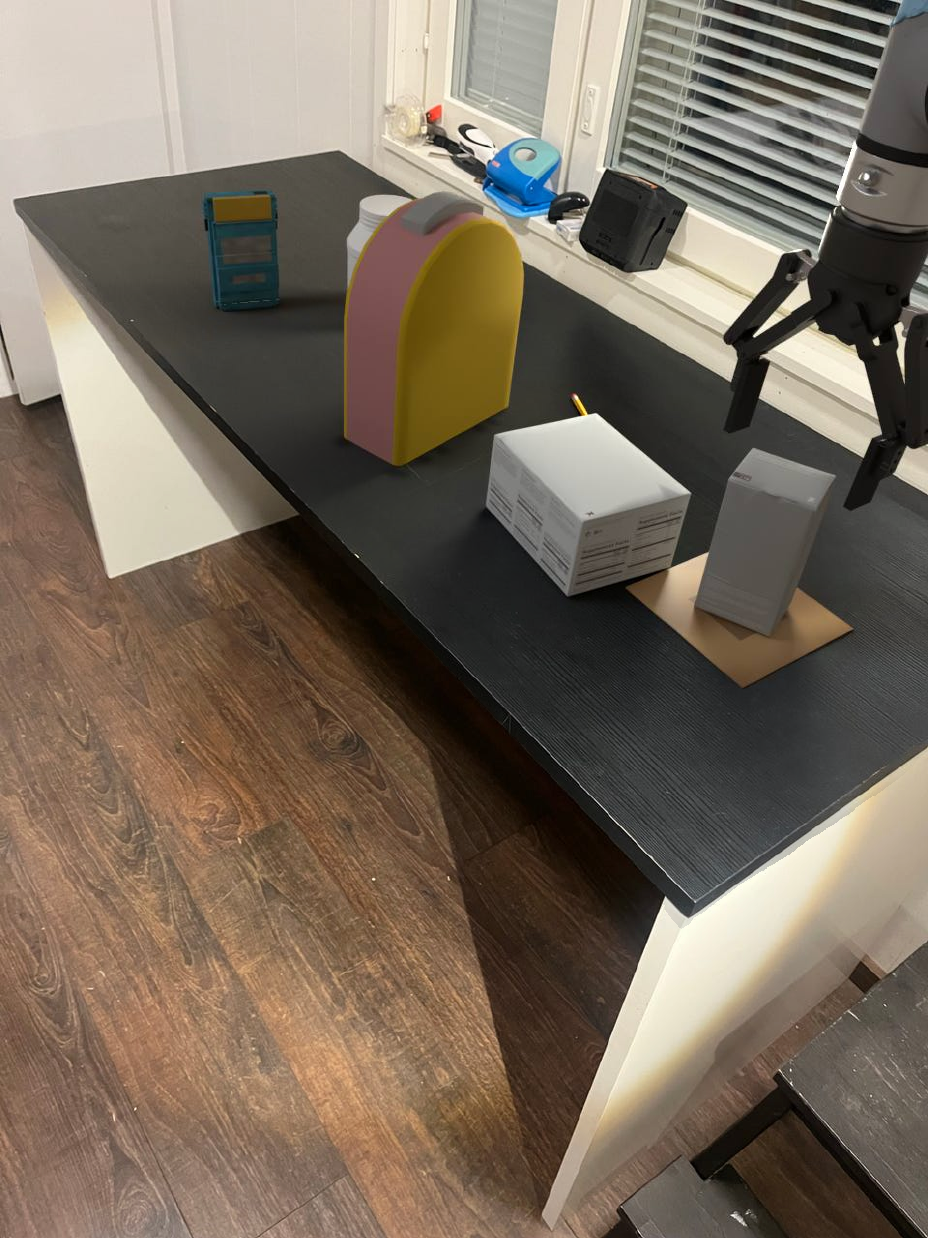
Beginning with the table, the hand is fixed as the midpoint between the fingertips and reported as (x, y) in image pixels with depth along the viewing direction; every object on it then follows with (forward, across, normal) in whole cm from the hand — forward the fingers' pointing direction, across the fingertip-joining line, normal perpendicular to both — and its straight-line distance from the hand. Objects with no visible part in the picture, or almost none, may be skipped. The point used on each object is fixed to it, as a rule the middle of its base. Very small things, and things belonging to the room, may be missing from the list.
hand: (793, 465), depth 83 cm
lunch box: (+17, -44, -8) cm, 48 cm away
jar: (+16, -72, +3) cm, 74 cm away
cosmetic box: (+17, 0, 0) cm, 17 cm away
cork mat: (+17, 0, 0) cm, 17 cm away
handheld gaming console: (+16, -82, -14) cm, 85 cm away
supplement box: (+17, -17, -7) cm, 25 cm away
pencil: (+17, -35, +10) cm, 40 cm away
